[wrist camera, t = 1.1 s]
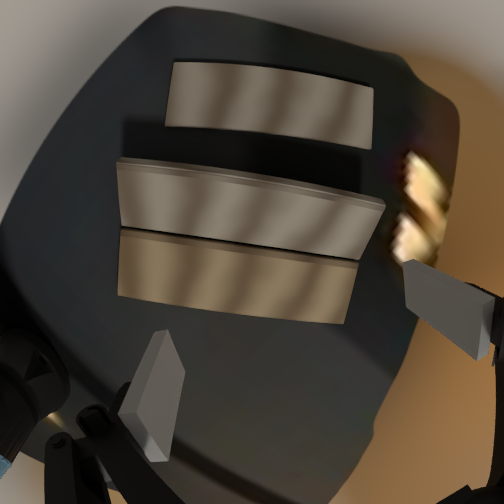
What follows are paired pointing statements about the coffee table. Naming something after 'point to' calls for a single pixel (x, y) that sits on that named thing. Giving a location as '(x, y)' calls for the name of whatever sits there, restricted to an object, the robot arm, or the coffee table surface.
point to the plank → (270, 102)
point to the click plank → (245, 207)
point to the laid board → (234, 277)
